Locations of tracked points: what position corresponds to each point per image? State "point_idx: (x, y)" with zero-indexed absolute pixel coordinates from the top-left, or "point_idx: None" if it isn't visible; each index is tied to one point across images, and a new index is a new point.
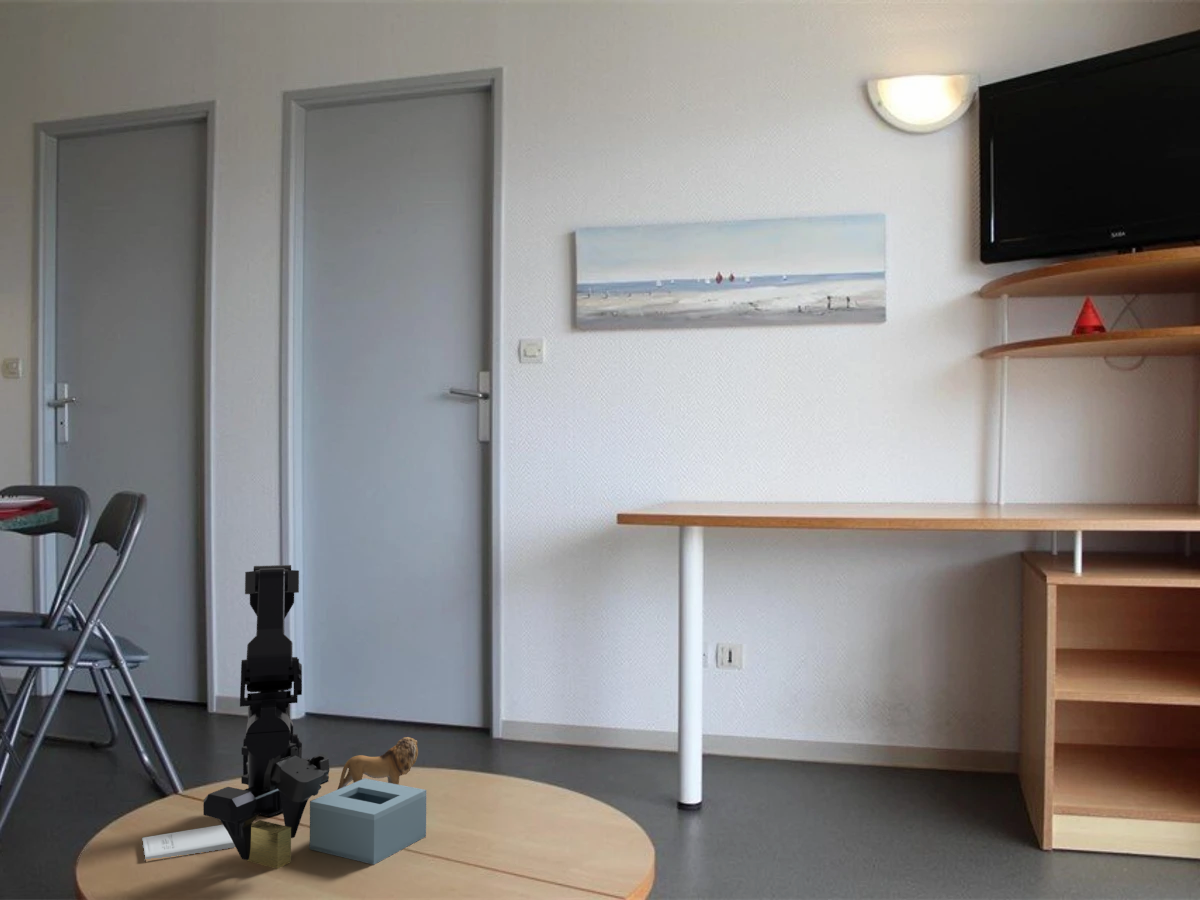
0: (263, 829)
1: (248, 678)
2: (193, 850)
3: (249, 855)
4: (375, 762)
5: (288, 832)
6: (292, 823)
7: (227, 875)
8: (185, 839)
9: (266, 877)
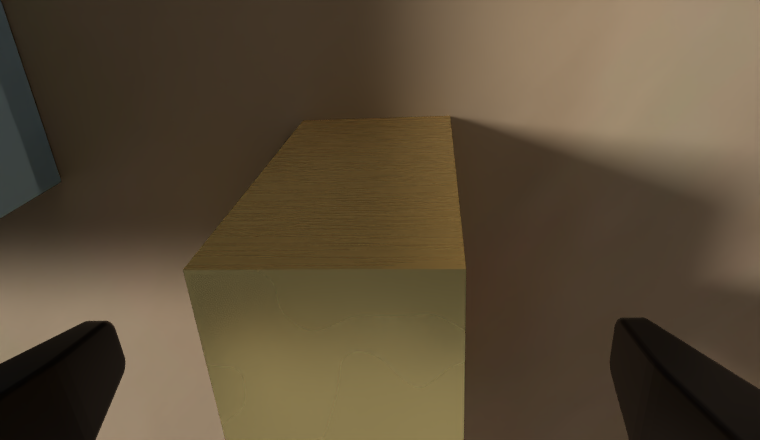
0: None
1: None
2: None
3: (634, 330)
4: None
5: (256, 238)
6: (28, 420)
7: (704, 332)
8: None
9: (637, 56)
